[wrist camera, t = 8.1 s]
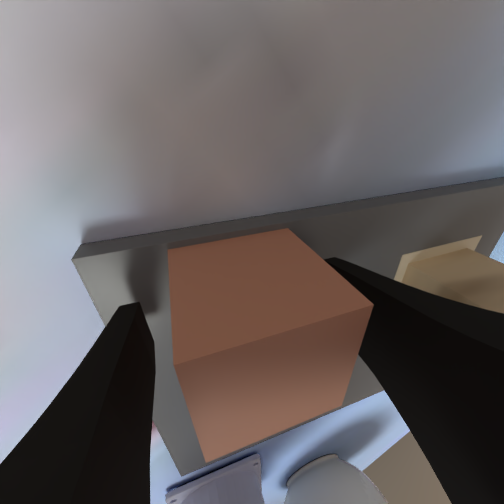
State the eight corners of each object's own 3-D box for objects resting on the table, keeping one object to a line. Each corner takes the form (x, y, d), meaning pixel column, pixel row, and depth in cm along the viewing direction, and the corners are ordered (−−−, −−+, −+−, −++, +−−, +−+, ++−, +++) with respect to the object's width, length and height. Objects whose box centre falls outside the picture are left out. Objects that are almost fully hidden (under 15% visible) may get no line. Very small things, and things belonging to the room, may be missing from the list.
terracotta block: (283, 312, 11) (341, 405, 8) (189, 338, 10) (205, 462, 7) (288, 228, 9) (373, 304, 5) (167, 249, 8) (173, 365, 4)
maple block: (438, 304, 16) (520, 359, 13) (386, 321, 15) (459, 388, 11) (467, 247, 14) (577, 295, 10) (408, 263, 13) (508, 323, 9)
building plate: (412, 365, 23) (421, 374, 22) (180, 459, 17) (181, 477, 16) (510, 175, 14) (533, 180, 13) (80, 244, 8) (71, 259, 7)
